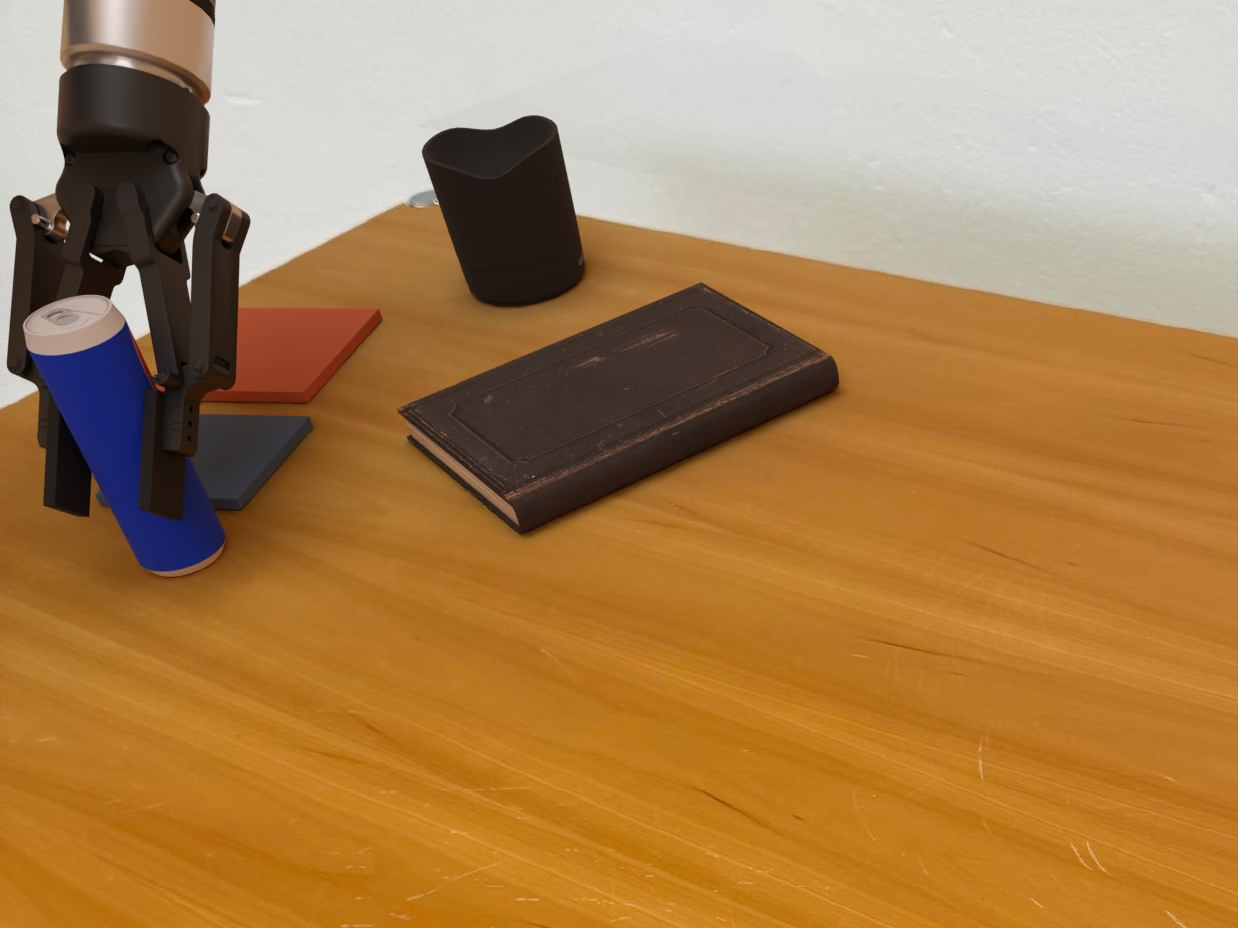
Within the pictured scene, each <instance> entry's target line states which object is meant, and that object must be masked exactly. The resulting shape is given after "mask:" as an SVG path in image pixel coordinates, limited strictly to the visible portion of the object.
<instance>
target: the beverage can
mask: <svg viewBox="0 0 1238 928" xmlns="http://www.w3.org/2000/svg"><path fill="white" fill-rule="evenodd" d="M23 329H24V333H25V339H26V345H27V349H28V351H29V352H30V354H31V356H32V358H33V360H34V362H35V364H36V366H37V368H38V370H39V372H40V374H41V376H42V378H43V379H44V381H45V383H46V385H47V387H48V389H49V391H50V393H51V395H52V397H53V399H54V401H55V403H56V405H57V406H58V408H59V410H60V412H61V414H62V416H63V418H64V420H65V422H66V424H67V426H68V428H69V430H70V431H71V433H72V435H73V437H74V439H75V441H76V443H77V445H78V447H79V449H80V451H81V453H82V455H83V457H84V458H85V460H86V462H87V464H88V466H89V468H90V470H91V472H92V477H93V478H94V480H95V482H96V483H97V485H98V487H99V490H100V489H101V491H102V493H103V495H104V497H105V499H106V501H107V503H108V505H109V506H108V505H107V506H108V507H109V508H110V510H111V513H112V515H113V516H114V518H115V520H116V522H117V524H118V526H119V528H120V530H121V532H122V534H123V535H124V537H125V540H126V541H127V543H128V546H129V547H130V549H131V551H132V553H133V555H134V557H135V559H136V560H137V562H138V564H139V565H140V566H141V567H142V568H143V569H145V570H147V571H148V572H151V573H153V574H154V575H157V576H159V577H168V578H170V577H173V578H174V577H181V576H186V575H189V574H192V573H196V572H198V571H201V570H203V569H205V568H206V567H208V566H210V565H211V564H213V563H214V562H215V561H216V560H217V559H218V558H219V557H220V556H221V555H222V553H223V550H224V546H225V544H226V543H225V542H226V539H227V537H226V536H227V534H226V531H225V529H224V527H223V525H222V522H221V521H220V518H219V517H218V515H217V513H216V509H214V508H213V506H212V504H211V501H210V499H209V497H208V495H207V493H206V491H205V489H204V486H203V484H202V482H201V480H200V478H199V476H198V474H197V471H196V469H195V467H194V465H193V463H192V461H191V459H190V457H186V468H185V485H184V503H183V520H169V519H167V518H164V517H161V516H158V515H155V514H152V513H149V512H146V511H143V510H140V509H138V501H139V483H140V465H141V448H142V430H143V412H144V394H145V389H158V388H157V386H156V384H155V383H153V381H152V380H151V378H150V376H153V375H152V373H151V371H150V369H149V367H148V364H147V362H146V359H145V357H144V356H143V354H142V351H141V349H140V346H139V345H138V343H137V341H136V339H135V336H134V334H133V332H132V330H131V327H130V326H129V323H128V322H127V320H126V317H125V316H124V315H123V313H122V312H121V311H120V310H119V309H118V308H117V306H116V305H115V304H114V303H113V302H112V300H111V299H108V298H107V297H104V296H99V295H82V296H75V297H70V298H66V299H62V300H59V301H56V302H53V303H51V304H48V305H46V306H44V307H42V308H40V309H39V310H37V311H35V312H34V313H32V314H31V315H30V316H29V317H28V318H27V319H26V320H25V322H24V324H23Z"/></svg>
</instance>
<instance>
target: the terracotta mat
mask: <svg viewBox="0 0 1238 928" xmlns="http://www.w3.org/2000/svg"><path fill="white" fill-rule="evenodd" d="M382 320H383V316H382V313H381V310H380V308H374V307H373V308H372V307H371V308H370V307H369V308H363V307H361V308H360V307H359V308H354V307H353V308H352V307H351V308H346V307H345V308H344V307H332V308H331V307H328V308H327V307H238V329H237V360H236V381H235V384H234V386H233V387H232V388H231V389H230V390H222V389H217V390H215V391H212V392H209V393H208V394H206V395H205V397H204V398H203V399H202V400H201V402H232V403H233V402H235V403H236V402H237V403H238V402H239V403H240V402H241V403H242V402H243V403H294V404H295V403H297V404H299V403H300V404H308V403H309V402H310V401H311V400H312V398H314V396H316V394H317V393H318V392H319V391H320V390H321V388H323V386H324V385H325V384H326V383H327V382H328V381H329V379H331V378H332V376H333V375H334V374H335V373H336V372H337V371H338V369H339V368H340V367H341V366H342V365H343V364H344V363H345V361H346V360H347V359H348V358H349V357H350V356H351V355H352V354H353V353H354V351H355V350H356V349H357V348H358V347H359V346H360V345H361V344H362V342H364V340H365V339H366V338H367V337H368V336H369V335H370V334H371V332H373V330H374V329H375V328H376V327H377V326H378V324H380V323H381V322H382ZM156 386H157V388H158V390H160V391H162V392H164V391H165V388H164V387H162V386H159V385H157V384H156Z"/></svg>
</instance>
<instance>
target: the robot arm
mask: <svg viewBox="0 0 1238 928" xmlns="http://www.w3.org/2000/svg"><path fill="white" fill-rule="evenodd" d="M216 4H217V0H63V6H62V7H63V8H62V21H61V36H60V48H59V49H60V50H59V61H60V64H61V66H62V67H63V68H64V69H65V72H63V73H61V75H60V76H59V79H58V95H57V96H58V98H57V100H58V101H57V115H56V116H57V117H56V138H57V140H58V143H59V146H60V150H61V152H62V155H63V160H64V162H63V163H64V165H63V170H62V171H61V173H60V176H59V178H58V180H57V182H56V184H55V190H54V192H53V193H51V194H49V195H46V196H43V197H41V198H38V199H36V200H31V199H29V198H28V197H26V196H24V195H22V194H17V195H15V196H13V197H12V198H11V200H10V202H9V213H10V216H11V223H12V225H13V230H14V233H15V238H16V239H15V249H14V251H15V252H14V262H13V263H14V264H13V275H12V288H11V289H12V290H11V303H10V315H9V325H8V326H9V327H8V338H7V339H8V340H7V353H6V368H7V370H8V372H9V373H10V374H11V375H15V376H17V377H19V378H21V379H24V380H25V381H28V382H30V383H32V384H34V386H35V387H36V388H37V390H38V414H37V415H38V416H37V417H38V418H37V419H38V421H37V431H36V432H37V434H36V439H37V443H38V446H39V448H41V449H44V450H45V461H44V463H45V464H44V476H43V477H44V478H43V496H42V497H43V499H42V506H43V507H46V508H49V509H51V510H54V511H55V510H56V511H58V512H61V513H65V514H68V515H71V516H74V517H77V518H90V514H91V512H90V511H91V498H92V497H91V496H92V495H91V493H92V477H93V474H92V472H91V470H90V468H89V466H88V464H87V462H86V460H85V458H84V457H83V455H82V453H81V451H80V449H79V447H78V445H77V443H76V441H75V439H74V437H73V435H72V433H71V431H70V430H69V428H68V426H67V424H66V422H65V420H64V418H63V416H62V414H61V412H60V410H59V408H58V406H57V405H56V403H55V401H54V399H53V397H52V395H51V393H50V391H49V389H48V387H47V385H46V383H45V381H44V379H43V378H42V376H41V374H40V372H39V370H38V368H37V366H36V364H35V362H34V360H33V358H32V356H31V354H30V352H29V351H28V349H27V345H26V339H25V333H24V329H23V324H24V322H25V320H26V319H27V318H28V317H29V316H30V315H31V314H32V313H34V312H35V311H37V310H39V309H40V308H42V307H44V306H46V305H48V304H51V303H53V302H56V301H59V300H62V299H66V298H70V297H75V296H82V295H99V296H104V297H107V298H108V299H110V300H111V298H112V295H113V292H114V288H115V287H116V286H120V285H121V284H123V281H124V279H125V275H126V271H127V268H128V267H131V266H134V267H135V268H136V269H137V271H138V274H139V281H140V284H141V285H140V286H141V290H142V296H143V303H144V307H145V312H146V318H147V323H148V329H149V335H150V340H151V344H152V350H153V356H154V361H155V366H156V371H157V372H156V374H155V373H154V374H153V375H152V376H150V378H151V380H152V381H153V383H155V384H157V385H159V386H162V387H164V388H165V391H164V392H162V391H160V390H158V389H145V394H144V412H143V430H142V448H141V465H140V483H139V501H138V509H140V510H143V511H146V512H149V513H152V514H155V515H158V516H161V517H164V518H167V519H169V520H183V503H184V485H185V468H186V457H194V455H195V453H196V451H197V447H198V438H197V437H198V429H199V414H201V413H200V410H201V409H200V408H201V404H202V403H201V402H202V401H201V400H202V399H203V398H204V397H205V395H206V394H208V393H209V392H212V391H215V390H217V389H222V390H230V389H231V388H232V387H233V386H234V384H235V381H236V360H237V329H238V308H239V295H240V294H239V293H240V292H239V290H240V267H241V266H240V262H241V261H240V260H241V252H242V250H243V246H244V245H245V241H246V238H247V235H248V232H249V230H250V227H251V222H252V220H251V217H250V214H249V213H248V212H246V211H244V210H243V209H241V208H240V207H239V206H237V205H235V204H234V203H233V202H231V201H230V200H228V199H226V198H225V197H223V196H222V195H220V194H219V193H217V192H212V193H209V194H206V192H205V189H204V187H203V184H202V179H203V178H204V177H205V176H206V174H207V171H208V165H209V164H208V163H209V147H210V146H209V144H210V130H211V129H210V127H211V115H210V113H209V111H208V109H207V108H206V106H205V105H207V104H208V103H209V102H210V100H211V97H212V82H213V65H214V64H213V61H214V46H215V45H214V44H215V28H216ZM67 222H68V223H69V226H68V229H67ZM193 228H194V232H193V237H192V247H191V270H190V265H189V259H188V253H187V248H186V243H185V242H186V241H185V240H186V238H187V237H188V235H189V234H190V233H191V231H192V230H193ZM91 255H92V256H91ZM93 256H94V257H96V258H98V259H100V260H101V261H100V260H98V259H96V258H94V257H93ZM188 280H190V293H189V287H188Z"/></svg>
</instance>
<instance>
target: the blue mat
mask: <svg viewBox="0 0 1238 928" xmlns="http://www.w3.org/2000/svg"><path fill="white" fill-rule="evenodd" d="M313 428H314V424H313V421H312V418H311V416H309V415H276V414H275V415H274V414H273V415H271V414H270V415H269V414H267V415H266V414H223V413H222V414H221V413H219V414H218V413H217V414H215V413H214V414H213V413H199V429H198V437H197V438H198V447H197V451H196V453H195V455H194V457H190V459H191V461H192V463H193V465H194V467H195V469H196V471H197V474H198V476H199V478H200V480H201V482H202V484H203V486H204V489H205V491H206V493H207V495H208V497H209V499H210V501H211V504H212V506H213V508H214V510H231V511H233V510H235V511H236V510H237V511H241V510H243V508H244V507H245V506H246V505H247V504H248V503H249V501H250V500H252V498H253V497H254V496H255V495H256V494H257V493H258V492H259V490H260V489H261V488H262V487H263V486H264V484H265V483H266V482H267V480H269V479H270V477H271V476H272V475H273V474H274V473H275V472H276V471H277V469H279V467H280V466H281V465H282V464H283V462H284V461H285V460H286V459H287V458H288V457H289V456H290V455H291V453H292V452H293V451H294V450H295V449H296V448H297V446H298V445H299V444H300V443H301V442H302V441H303V439H305V437H306V436H307V435H308V434H309V433H310V432H311V430H312V429H313ZM94 496H95V498H96V500H97V502H98V504H99V506H108V507H109V505H108V503H107V501H106V499H105V497H104V495H103V493H102V491H101V489H100V488H99V490H98V491H97V492H96V493H95V494H94Z"/></svg>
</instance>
